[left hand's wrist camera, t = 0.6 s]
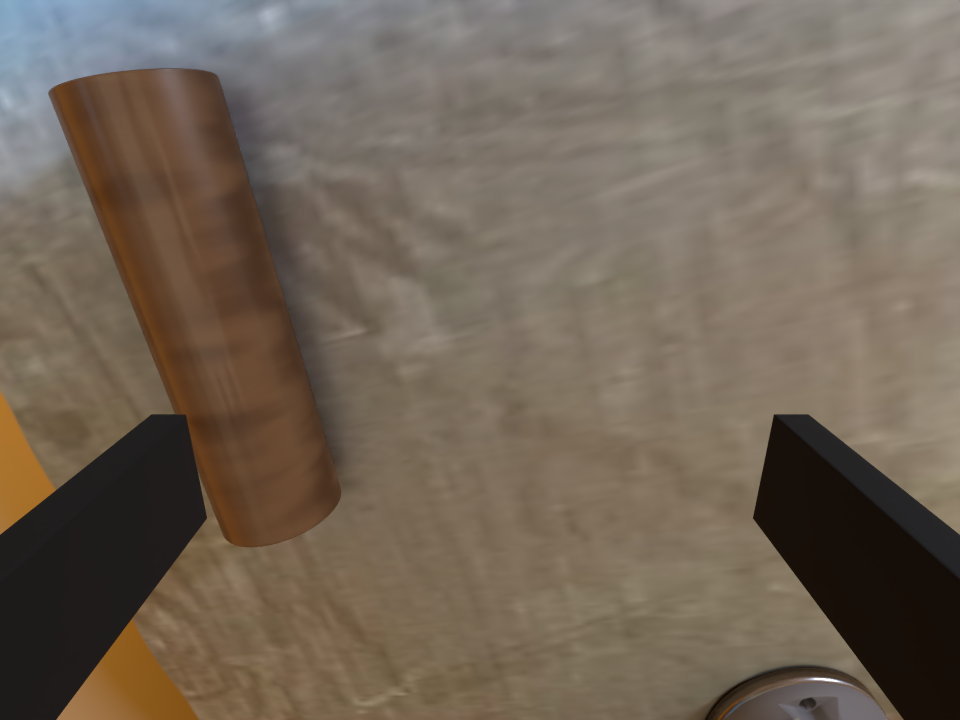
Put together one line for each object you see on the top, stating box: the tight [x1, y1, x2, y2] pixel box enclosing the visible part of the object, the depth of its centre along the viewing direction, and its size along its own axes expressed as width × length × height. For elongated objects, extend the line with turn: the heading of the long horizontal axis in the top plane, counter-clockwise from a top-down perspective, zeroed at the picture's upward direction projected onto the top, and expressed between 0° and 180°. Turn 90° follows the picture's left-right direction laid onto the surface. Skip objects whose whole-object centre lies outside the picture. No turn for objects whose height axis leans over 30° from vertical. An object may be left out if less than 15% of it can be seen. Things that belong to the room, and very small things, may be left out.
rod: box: [48, 68, 341, 547], centre depth 32 cm, size 26×8×8 cm, turn 10°
